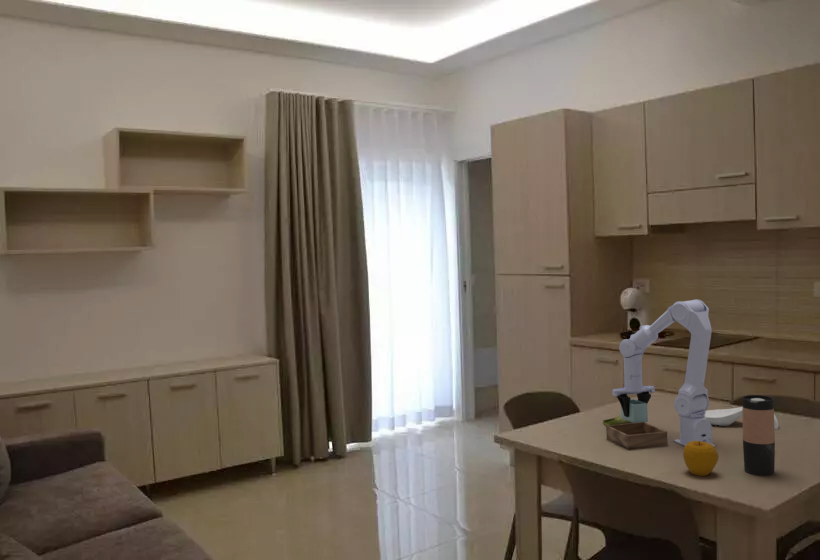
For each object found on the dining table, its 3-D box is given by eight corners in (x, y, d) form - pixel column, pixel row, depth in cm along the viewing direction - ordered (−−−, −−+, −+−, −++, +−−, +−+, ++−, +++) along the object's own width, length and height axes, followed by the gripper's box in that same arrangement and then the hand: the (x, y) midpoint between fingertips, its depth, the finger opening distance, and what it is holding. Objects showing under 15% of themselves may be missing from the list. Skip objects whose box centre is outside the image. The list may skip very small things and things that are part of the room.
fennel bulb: (633, 415, 245) (601, 423, 243) (634, 405, 242) (601, 412, 241) (641, 426, 240) (608, 434, 239) (642, 415, 237) (608, 423, 236)
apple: (723, 473, 187) (722, 440, 187) (710, 481, 181) (709, 447, 181) (691, 467, 194) (691, 435, 193) (678, 474, 188) (677, 442, 187)
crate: (667, 446, 214) (667, 431, 214) (628, 450, 211) (627, 436, 211) (644, 435, 227) (643, 421, 226) (606, 439, 224) (606, 425, 224)
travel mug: (765, 467, 191) (764, 394, 190) (781, 476, 183) (780, 400, 182) (738, 468, 191) (736, 395, 190) (752, 477, 183) (751, 401, 182)
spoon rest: (698, 427, 235) (697, 406, 235) (702, 419, 245) (701, 398, 245) (778, 433, 224) (777, 411, 223) (778, 424, 234) (778, 403, 234)
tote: (634, 416, 237) (634, 398, 237) (647, 421, 229) (647, 403, 229) (621, 417, 236) (620, 400, 236) (633, 423, 228) (633, 405, 228)
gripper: (646, 371, 238) (647, 410, 238) (607, 374, 234) (608, 414, 235) (657, 374, 231) (659, 415, 231) (617, 378, 228) (619, 419, 228)
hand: (634, 415), depth 233 cm, fingers closed on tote, 5 cm apart
